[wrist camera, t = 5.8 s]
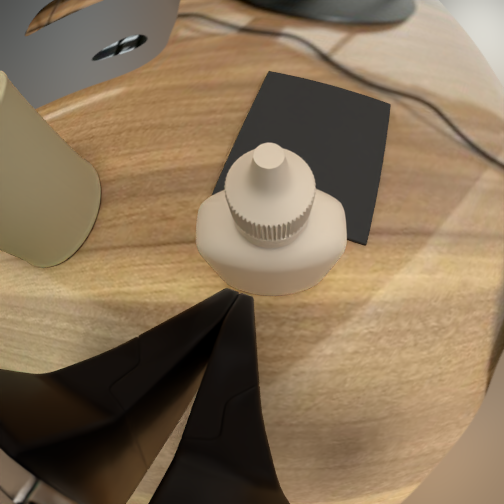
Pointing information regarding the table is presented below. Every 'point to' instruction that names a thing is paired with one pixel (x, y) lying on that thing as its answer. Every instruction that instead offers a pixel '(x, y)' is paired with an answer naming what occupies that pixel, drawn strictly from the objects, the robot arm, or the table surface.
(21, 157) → the can
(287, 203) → the eye dropper bottle
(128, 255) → the table surface
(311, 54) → the table surface
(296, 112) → the felt mat
